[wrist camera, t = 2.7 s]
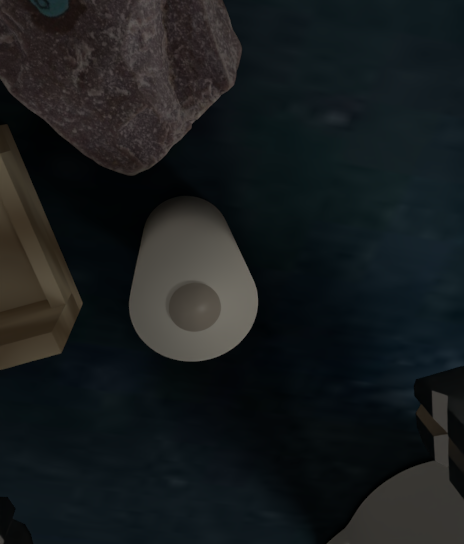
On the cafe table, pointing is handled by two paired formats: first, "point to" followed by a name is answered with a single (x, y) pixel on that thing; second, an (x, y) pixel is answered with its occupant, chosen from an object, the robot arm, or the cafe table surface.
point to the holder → (30, 269)
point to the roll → (191, 283)
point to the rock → (118, 71)
